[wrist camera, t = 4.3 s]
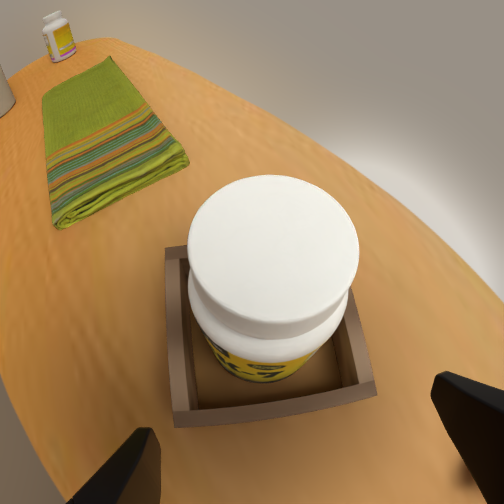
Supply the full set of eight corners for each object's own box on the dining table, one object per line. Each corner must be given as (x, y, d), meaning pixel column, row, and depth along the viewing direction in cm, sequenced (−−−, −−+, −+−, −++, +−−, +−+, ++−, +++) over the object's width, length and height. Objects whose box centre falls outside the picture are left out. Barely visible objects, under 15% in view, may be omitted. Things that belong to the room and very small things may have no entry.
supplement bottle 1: (81, 48, 54) (69, 5, 43) (69, 59, 51) (55, 14, 40) (60, 54, 54) (48, 14, 43) (47, 66, 51) (33, 23, 40)
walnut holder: (359, 399, 19) (377, 395, 16) (186, 426, 18) (174, 427, 15) (323, 252, 25) (332, 228, 22) (175, 270, 24) (165, 247, 21)
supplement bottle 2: (191, 349, 21) (126, 263, 10) (245, 272, 24) (240, 140, 13) (280, 403, 19) (321, 383, 8) (329, 318, 22) (398, 211, 11)
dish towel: (61, 239, 27) (46, 220, 24) (43, 102, 42) (37, 88, 39) (194, 169, 31) (190, 146, 28) (116, 66, 46) (113, 52, 43)
